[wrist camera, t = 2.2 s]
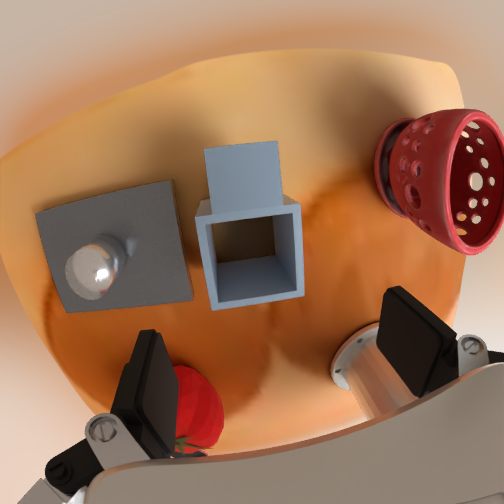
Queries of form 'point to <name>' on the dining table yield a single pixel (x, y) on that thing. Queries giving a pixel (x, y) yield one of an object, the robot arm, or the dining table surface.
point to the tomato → (197, 412)
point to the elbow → (244, 207)
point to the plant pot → (444, 176)
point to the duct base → (135, 233)
